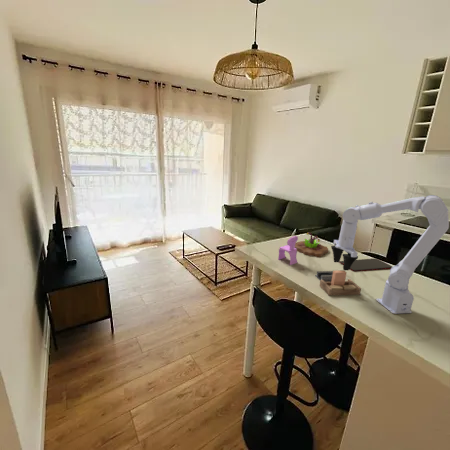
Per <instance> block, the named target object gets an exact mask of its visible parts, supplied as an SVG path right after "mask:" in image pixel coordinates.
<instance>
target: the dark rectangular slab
mask: <svg viewBox="0 0 450 450" xmlns="http://www.w3.org/2000/svg"><path fill="white" fill-rule="evenodd" d="M338 263H339V264H340V265H342V266H343V264H344V260H340V261H339V262H338ZM392 267H393V266H392V265H391V264H388V263H387V262H385V261H383V260H381V259H378V258H364V259H356V260H355V261H354V262H353V264H352V265H351V267H350V269H349V270H348V271H351V272H354V273H357V272H369V271H381V270H390V269H391V268H392Z"/></svg>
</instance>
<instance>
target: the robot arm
mask: <svg viewBox="0 0 450 450" xmlns="http://www.w3.org/2000/svg"><path fill="white" fill-rule="evenodd" d="M405 210H410V211H412V212H415V213H419V210H420V211H421V213H422V215H424V217H426V219H427V221H428V224H429V226H428V227H427V228H426V230H425V231H424V232H423V233H422V234H421V235H420V237H419V238H418V240H416V242H415V243H414V245H413V246H412V247H411V249H409V251H408V252H407V253H406V255H405V256H404V258H403V259H402V260H400V261H399V262H398V263H397V264H396V265H393V266H392V268H391V269H389V276H388V278H387V279H386V281H385V285H384V287H383V292H382V296H381V298H376V299H375V300H376V301H377V302H378V303H379V304H380V305H382V306H383V307H384V308H385V309H387V311H389V312H390V313H391V314H392V315H394V314H397V315H398V314H412V313H413V312H412V310H411V309H412V306H413V304H414V303H413V302H414V299H415V298H414V295H413V294H412V292H410V290H409V283H410V280H411V277H412V276H413V274H414V272H415V271H416V268H418V266H419V265H420V264H421V263H422V261H423V260H424V259H425V257H426V256H427V255H428V254H429V253H430V252H431V250H432V249H433V248H434V247H435V245H437V244H438V242H439V241H440V240H441V238H443V236H444V235H445V234H446V233H447V231H448V230H449V228H450V223H449V222H450V221H449V220H450V219H449V209H448V207H447V204H446V203H445V202H444V201H443V199H442V197H440V196H438V195H434V194H430V195H426V196H424V195H423V196H415V197H410V198H405V199H401V200H397V201H392V202H388V203H387V202H386V203H384V204H380V203H378V202H374V201H369V202H368V203H367V204H363V205H358V204H356V205H355V206H351V207H347V209H345V210H344V211H343V212H342V219H343V220H342V224H341V227H340V232H339V237H338V239H333V245H331V250H332V255H333V262H334V263H339V261H341V258H343V259H342V260H343V261H344V264H343V265H342V268H343V270H344V271H350V270H349V269H350V267H351V265H352V264H353V262H354V261H355V260H359V259H358V258H359V256H358V252H357V251H356V249H355V248H354V244H355V238H356V233H357V229H358V224H359V223H358V221H359V220H360V221H365V220H370V219H375V218H380V217H381V216H382V214H385V213H392V212H397V211H398V212H399V211H405ZM344 252H345V253H344Z"/></svg>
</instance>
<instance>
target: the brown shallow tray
mask: <svg viewBox="0 0 450 450" xmlns="http://www.w3.org/2000/svg"><path fill="white" fill-rule="evenodd" d="M330 285H331V282H324V281H323V280H319V287H320V288H321V289H322V290H323V291H324V293H326V295H327V296H356V295H357V296H358V295H361V291H362V288H361V286H359V285H358V284H357V283H355V281H353V280H352V279H350V278H348V279H347V280H345V284H344V285H354V286H355V287H356V289H354V290H332V289H331V288H330V287H329V286H330ZM340 286H342V285H340Z"/></svg>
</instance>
